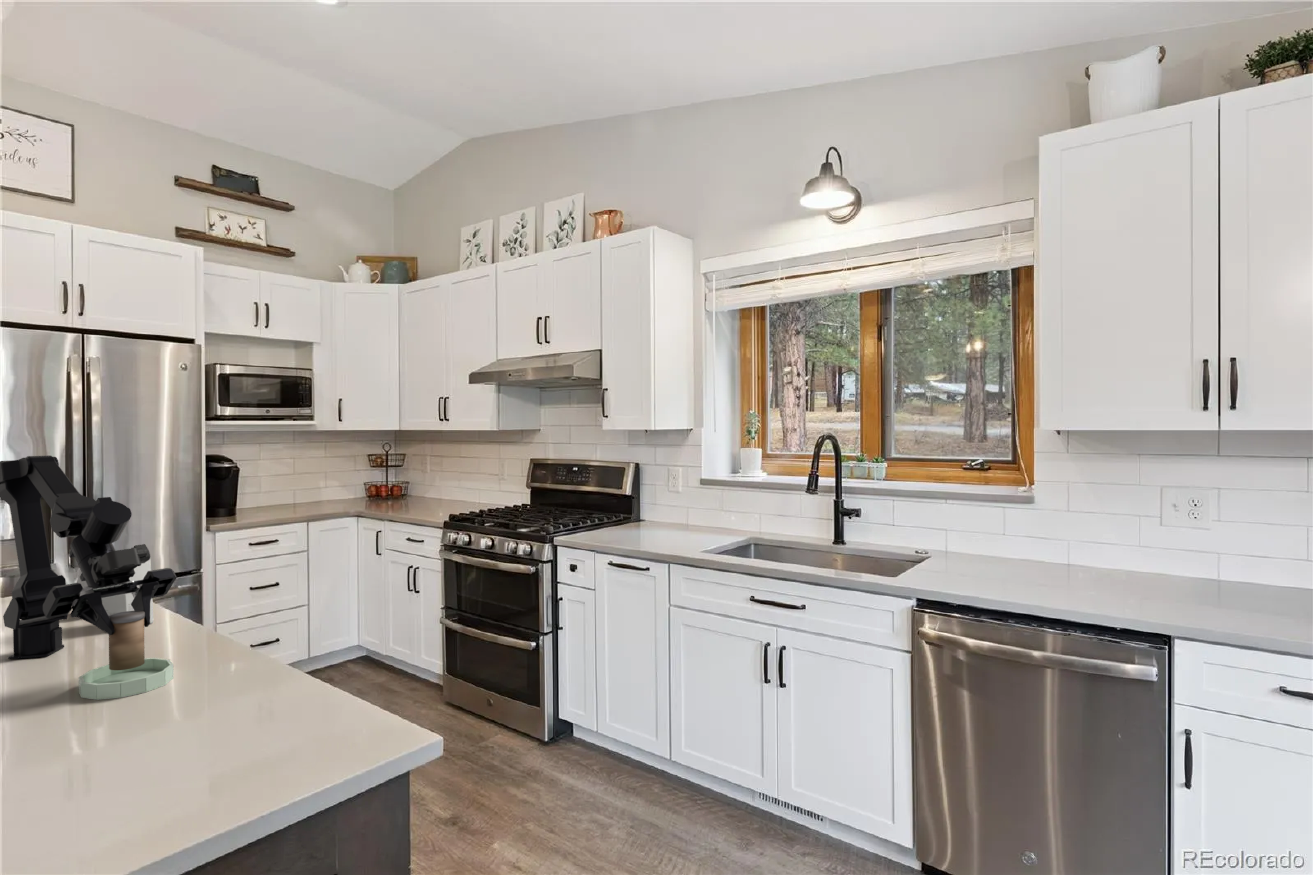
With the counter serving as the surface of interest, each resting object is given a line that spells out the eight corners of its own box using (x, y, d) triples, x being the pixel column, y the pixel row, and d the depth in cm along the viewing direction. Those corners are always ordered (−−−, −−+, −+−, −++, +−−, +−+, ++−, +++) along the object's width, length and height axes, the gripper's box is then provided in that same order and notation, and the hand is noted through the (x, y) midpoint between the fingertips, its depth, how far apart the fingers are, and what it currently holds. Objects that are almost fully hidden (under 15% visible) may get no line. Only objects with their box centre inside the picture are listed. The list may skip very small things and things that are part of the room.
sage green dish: (63, 702, 116) (62, 687, 116) (103, 675, 128) (103, 661, 128) (153, 695, 119) (153, 680, 119) (184, 669, 132) (184, 655, 132)
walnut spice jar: (100, 669, 121) (99, 618, 121) (126, 659, 127) (126, 610, 126) (127, 671, 121) (126, 619, 121) (152, 661, 126) (152, 611, 126)
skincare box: (154, 623, 161) (153, 556, 161) (124, 631, 155) (123, 561, 155) (128, 620, 164) (128, 553, 164) (98, 627, 158) (97, 559, 157)
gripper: (49, 539, 117) (82, 614, 112) (170, 525, 133) (204, 590, 128) (28, 581, 121) (59, 655, 116) (149, 562, 137) (180, 626, 132)
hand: (130, 629), depth 123 cm, fingers closed on walnut spice jar, 5 cm apart
